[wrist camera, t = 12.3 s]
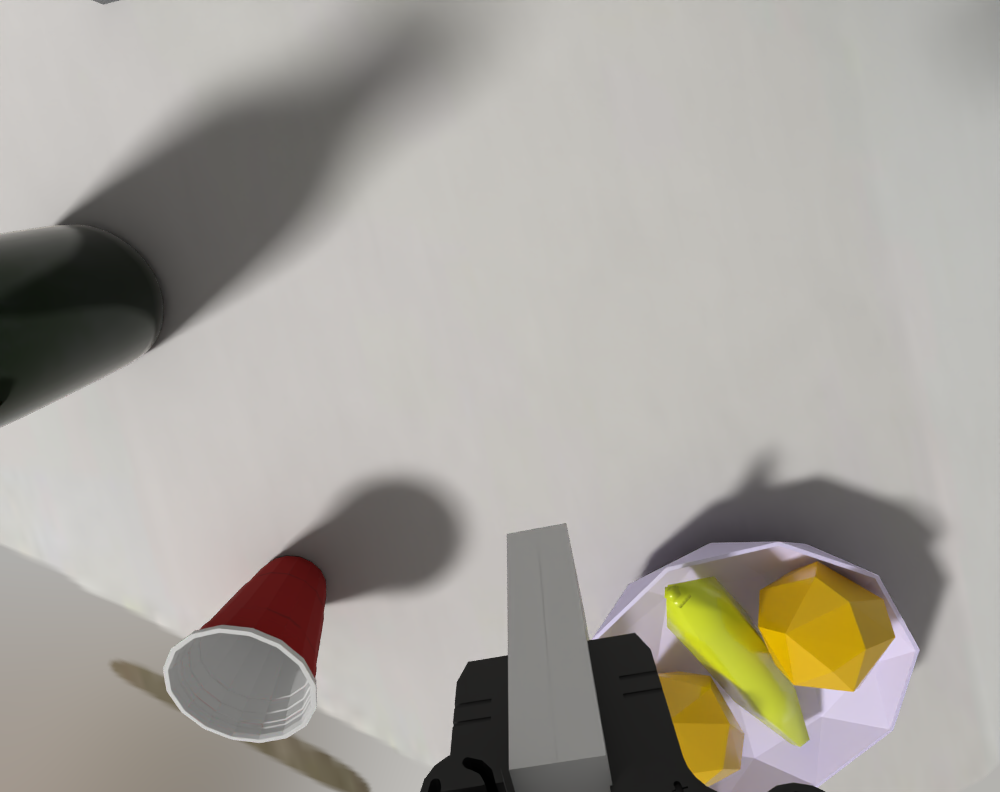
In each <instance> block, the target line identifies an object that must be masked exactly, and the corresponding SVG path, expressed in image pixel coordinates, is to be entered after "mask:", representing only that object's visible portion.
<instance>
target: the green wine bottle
mask: <svg viewBox="0 0 1000 792" xmlns="http://www.w3.org/2000/svg"><path fill="white" fill-rule="evenodd" d="M162 321H163V299H162V294H161V290H160V287H159V284H158V282H157V279H156V277H155V275H154V273H153V272H152V270H151V269H150V267H149V265H148V264H147V262H146V261H145V260H144V259H143V258H142V257H141V256H140V254H139V253H138V252H137V251H136V250H135V249H133V248H132V247H131V246H130V245H128V244H127V243H126V242H125V241H123V240H122V239H120V238H118V237H117V236H115V235H113V234H111V233H110V232H107V231H105V230H102V229H99V228H96V227H93V226H87V225H81V224H71V225H53V226H45V227H39V228H32V229H26V230H19V231H13V232H7V233H1V234H0V428H1V427H3V426H6V425H8V424H10V423H12V422H14V421H16V420H18V419H20V418H23V417H25V416H27V415H29V414H31V413H33V412H35V411H37V410H39V409H41V408H43V407H45V406H47V405H49V404H51V403H53V402H55V401H57V400H59V399H61V398H63V397H65V396H67V395H69V394H71V393H73V392H75V391H77V390H79V389H81V388H83V387H86V386H88V385H90V384H92V383H94V382H96V381H98V380H100V379H102V378H104V377H105V376H107V375H109V374H111V373H113V372H115V371H117V370H119V369H121V368H123V367H125V366H127V365H129V364H130V363H132V362H134V361H135V360H137V359H138V358H140V357H141V356H142V355H143V354H145V353H146V352H147V351H148V350H149V349H150V348H151V346H152V345H153V344H154V343H155V341H156V339H157V337H158V335H159V333H160V330H161V326H162Z"/></svg>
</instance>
